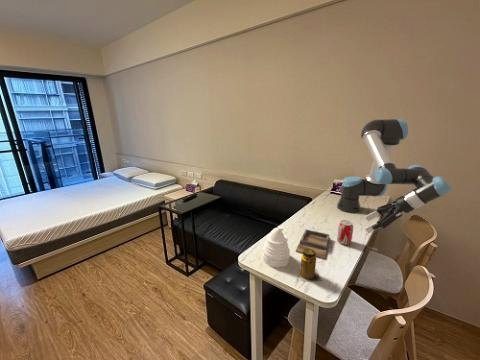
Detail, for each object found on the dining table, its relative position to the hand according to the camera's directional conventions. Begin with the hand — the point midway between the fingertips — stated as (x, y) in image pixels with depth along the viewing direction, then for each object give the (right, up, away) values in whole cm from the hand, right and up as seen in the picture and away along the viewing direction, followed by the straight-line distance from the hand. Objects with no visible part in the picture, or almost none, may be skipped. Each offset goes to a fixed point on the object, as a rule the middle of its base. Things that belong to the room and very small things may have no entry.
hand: (366, 224), depth 112 cm
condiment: (-33, -19, -14) cm, 41 cm away
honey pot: (-46, -16, -3) cm, 49 cm away
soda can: (-7, -12, +9) cm, 16 cm away
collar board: (-24, -13, +7) cm, 28 cm away
